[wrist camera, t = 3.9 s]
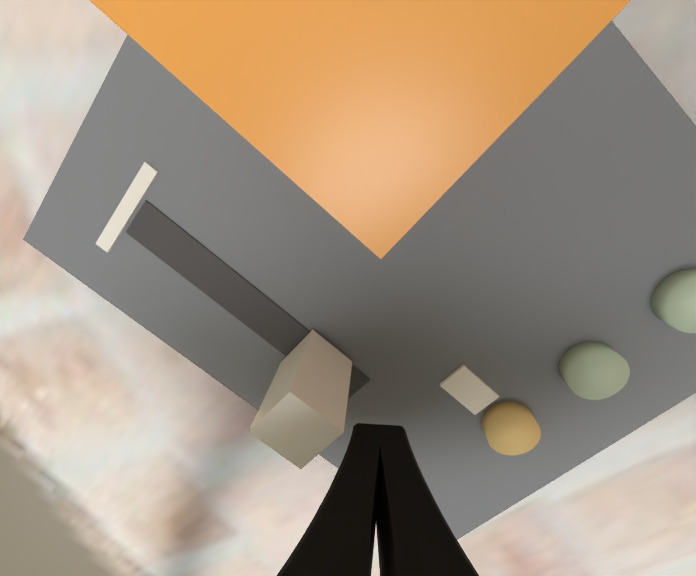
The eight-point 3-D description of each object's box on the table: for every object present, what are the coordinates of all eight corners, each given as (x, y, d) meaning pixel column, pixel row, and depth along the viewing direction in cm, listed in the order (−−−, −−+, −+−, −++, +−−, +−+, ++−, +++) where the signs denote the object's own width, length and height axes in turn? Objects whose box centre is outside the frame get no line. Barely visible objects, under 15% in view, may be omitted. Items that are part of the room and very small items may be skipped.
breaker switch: (352, 361, 11) (343, 432, 8) (319, 392, 12) (300, 468, 9) (312, 329, 11) (289, 391, 8) (280, 362, 11) (248, 432, 8)
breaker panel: (779, 285, 11) (868, 313, 9) (439, 510, 15) (448, 562, 13) (330, -252, 8) (314, -392, 6) (64, 229, 12) (3, 244, 10)
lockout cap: (512, 57, 8) (713, -86, 3) (379, 205, 9) (381, 259, 5) (368, -104, 7) (349, -613, 2) (247, 82, 9) (81, -8, 4)
